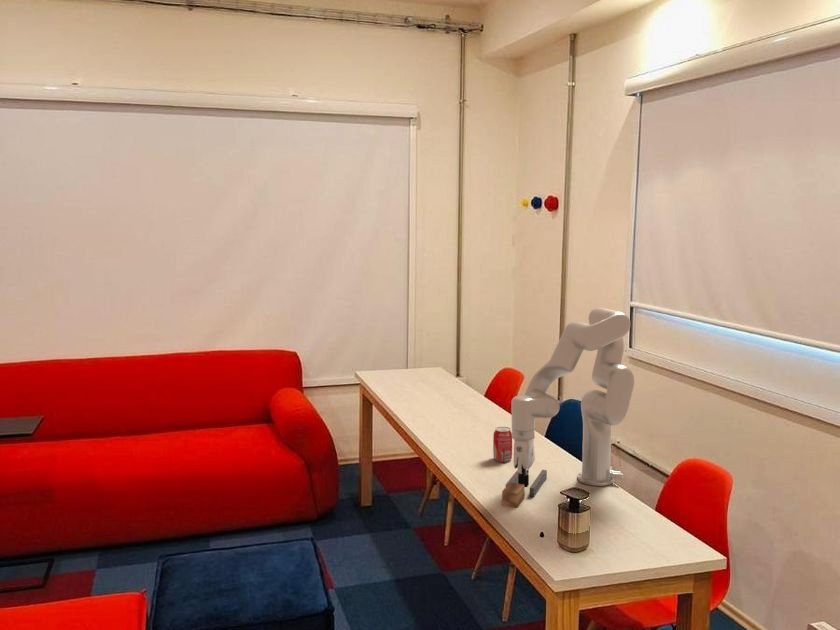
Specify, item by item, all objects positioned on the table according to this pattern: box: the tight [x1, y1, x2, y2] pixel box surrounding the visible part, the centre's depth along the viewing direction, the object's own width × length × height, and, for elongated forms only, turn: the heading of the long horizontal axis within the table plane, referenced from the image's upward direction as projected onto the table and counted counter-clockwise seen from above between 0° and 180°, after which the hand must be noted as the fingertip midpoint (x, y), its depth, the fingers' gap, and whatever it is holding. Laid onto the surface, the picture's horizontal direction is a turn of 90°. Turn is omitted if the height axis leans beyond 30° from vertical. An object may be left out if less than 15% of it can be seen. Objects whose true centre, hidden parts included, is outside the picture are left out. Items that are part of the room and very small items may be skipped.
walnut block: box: [501, 483, 526, 509], centre depth 242 cm, size 5×8×5 cm, turn 156°
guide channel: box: [505, 469, 548, 498], centre depth 256 cm, size 10×18×3 cm, turn 157°
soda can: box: [492, 426, 513, 463], centre depth 281 cm, size 7×7×12 cm
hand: (523, 485), depth 250 cm, fingers closed
